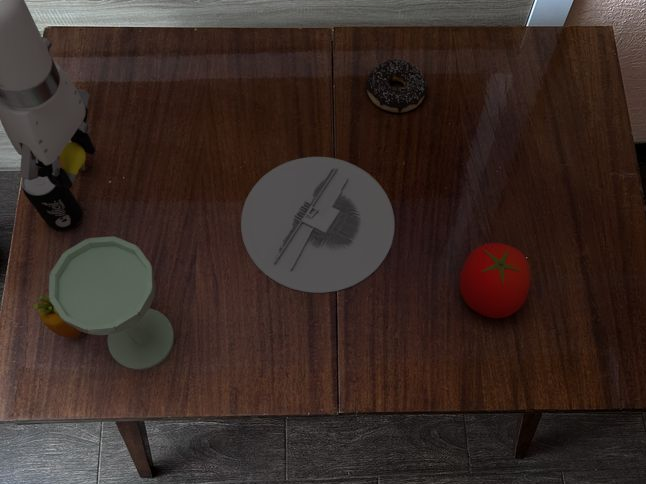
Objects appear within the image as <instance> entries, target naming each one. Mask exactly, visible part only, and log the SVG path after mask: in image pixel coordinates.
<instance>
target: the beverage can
mask: <svg viewBox="0 0 646 484" xmlns="http://www.w3.org/2000/svg"><path fill="white" fill-rule="evenodd" d="M21 186H22V192H23V194H24V196H25V197H26V198H27V200H28V201H29V202H30V204H31V205H32V206H33V208H34V209H35V210H36V212H37V213H38V214H39V216H40V217H41V219H42V220H43V221H44V222H45V223H46V225H47V226H48V227H49V228H50V229H52V230H55V231H58V232H66V231H69V230H72V229H73V228H75V227H76V226H77V225H78V224H79V223H80V222H81V219H82V217H83V215H82V214H83V209H82V207H81V205H80V203H79V202H78V200H77V199H76V197H75V195H74V193H72V191H71V189H69V188H67V187H64V186H62V185H61V187H58V186H55V185H54V184H52V183H51V182H50V180H49V179H48V177H47V176H46V177H38V178H36V179H33V180H28V179H25V178H23V177H21Z"/></svg>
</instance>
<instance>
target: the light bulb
mask: <svg viewBox="0 0 646 484" xmlns="http://www.w3.org/2000/svg"><path fill="white" fill-rule="evenodd" d="M86 157H87V155H86V152H85V151H84V149H83V147H82V146H81V145H79V144H78V143H75V142H69V143H68V144H67V145H66V147H65V148H64V149H63V151H62V152H61V154H60V155H59V159H60V162H61V164H62V167H63V168H62V169H64V170H65V172H66V173H67V175H68V177H69V179H70V180H71V182H72V185H74V184H75V182H76V176H77V175H78V174H79V170H81V169H80V168H81V167H82V165H83V164H84V162H86V159H87V158H86Z"/></svg>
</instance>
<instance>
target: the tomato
mask: <svg viewBox="0 0 646 484" xmlns="http://www.w3.org/2000/svg"><path fill="white" fill-rule="evenodd" d="M531 278H532V277H531V268H530V263H529V262H528V260H527V257H525V255H524V253H523V251H521V250H519V249H518V248H516V247H514V246H511V245H508V244H506V243H501V242H489V243H486V244H485V243H484V244H483V245H480V246H478V247H476V248H474V249H473V250H472V251H471V252H470V253H469V254H468V256H467V257H466V260H465V261H464V264H463V266H462V269H461V272H460V276H459V289H460V294H461V297H462V299H463V301H464V302H465V303H466V305H467V306H468V307H469V309H471V310H473V311H474V312H476V313H478V315H479V314H480V315H482V316H484V317H487V318H490V319H502V318H507V317H509V316H511V315H513V314H514V313H516V312H517V311H519V310H520V309H521V308H522V307H523V305H524V303H525V302H526V300H527V298H528V294H529V292H530V289H531Z"/></svg>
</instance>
